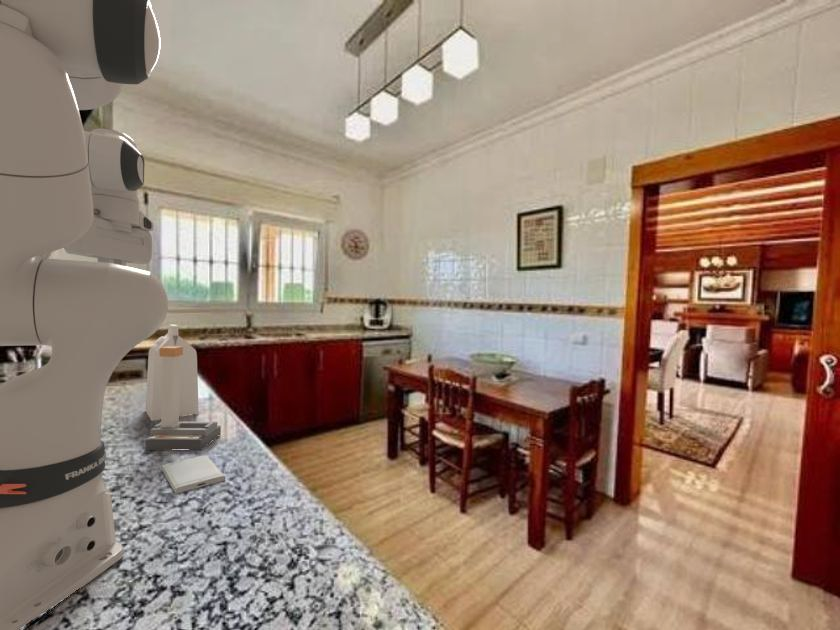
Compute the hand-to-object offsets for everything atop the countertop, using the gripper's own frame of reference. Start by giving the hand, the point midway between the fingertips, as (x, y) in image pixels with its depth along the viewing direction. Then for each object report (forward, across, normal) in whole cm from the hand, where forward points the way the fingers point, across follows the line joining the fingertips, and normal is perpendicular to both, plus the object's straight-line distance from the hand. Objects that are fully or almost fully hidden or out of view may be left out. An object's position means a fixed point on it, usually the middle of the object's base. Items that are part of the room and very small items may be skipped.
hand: (112, 282), depth 79 cm
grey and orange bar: (+35, +10, -6) cm, 37 cm away
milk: (+37, +34, +6) cm, 51 cm away
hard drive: (+38, -7, -20) cm, 44 cm away
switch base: (+37, +10, -10) cm, 40 cm away
